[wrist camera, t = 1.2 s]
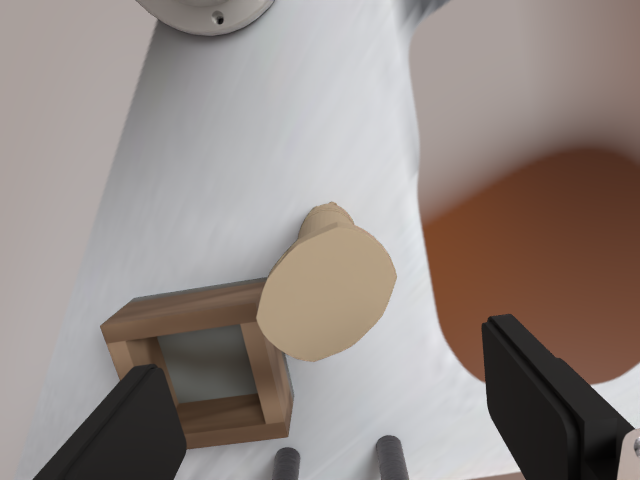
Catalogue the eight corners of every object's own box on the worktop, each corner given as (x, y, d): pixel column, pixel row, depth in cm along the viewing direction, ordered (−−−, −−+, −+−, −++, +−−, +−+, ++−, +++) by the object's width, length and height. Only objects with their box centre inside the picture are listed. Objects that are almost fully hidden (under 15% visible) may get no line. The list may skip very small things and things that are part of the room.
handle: (280, 230, 30) (234, 315, 16) (331, 170, 29) (331, 204, 15) (325, 267, 31) (319, 379, 17) (377, 210, 30) (419, 279, 15)
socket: (134, 298, 33) (99, 326, 28) (267, 277, 32) (255, 302, 27) (172, 411, 36) (147, 454, 31) (294, 395, 35) (288, 437, 30)
